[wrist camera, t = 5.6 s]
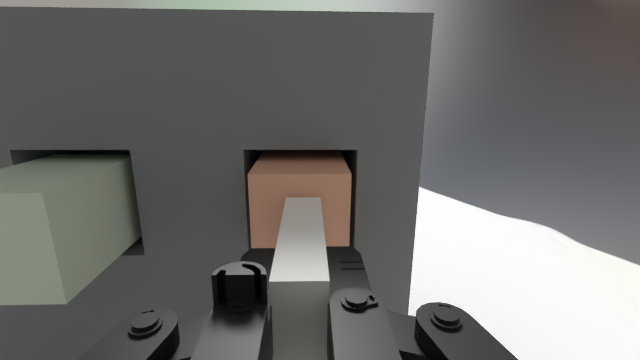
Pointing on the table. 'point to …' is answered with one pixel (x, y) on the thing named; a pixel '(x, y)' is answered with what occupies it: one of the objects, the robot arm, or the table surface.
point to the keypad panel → (211, 140)
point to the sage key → (63, 224)
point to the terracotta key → (299, 192)
